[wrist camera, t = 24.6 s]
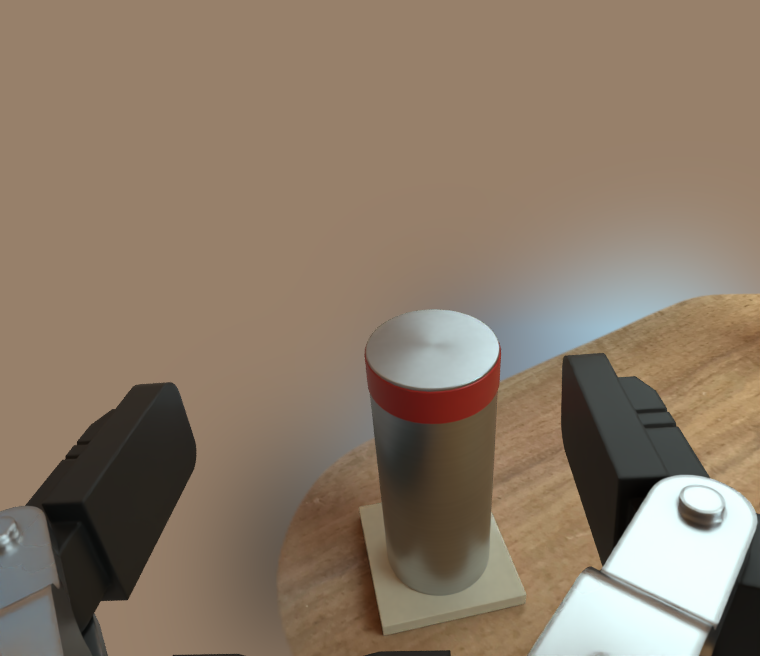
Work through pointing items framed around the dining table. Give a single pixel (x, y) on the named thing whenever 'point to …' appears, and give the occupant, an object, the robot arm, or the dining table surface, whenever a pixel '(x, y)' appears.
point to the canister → (435, 444)
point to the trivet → (418, 610)
